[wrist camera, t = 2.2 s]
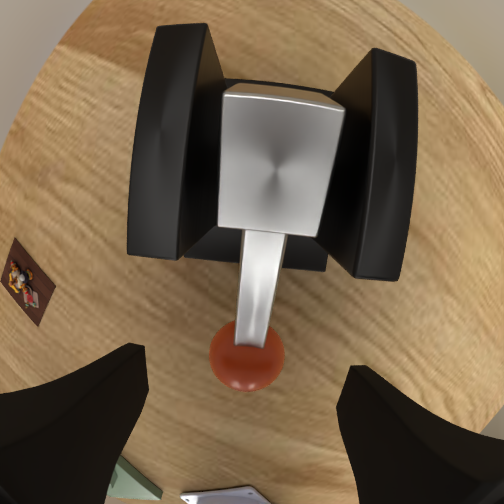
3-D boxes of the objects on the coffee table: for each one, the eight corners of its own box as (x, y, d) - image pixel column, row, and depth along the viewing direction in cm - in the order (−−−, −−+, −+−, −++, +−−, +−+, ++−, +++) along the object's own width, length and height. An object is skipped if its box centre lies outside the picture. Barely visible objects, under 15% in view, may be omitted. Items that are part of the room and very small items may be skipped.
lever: (278, 348, 13) (278, 405, 11) (214, 341, 13) (205, 398, 11) (336, 95, 6) (375, 116, 4) (221, 81, 6) (193, 92, 4)
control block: (163, 491, 20) (157, 512, 17) (111, 489, 21) (104, 507, 18) (100, 434, 18) (87, 456, 16) (54, 435, 19) (42, 452, 16)
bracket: (321, 267, 15) (406, 381, 5) (188, 253, 15) (92, 352, 5) (339, 99, 13) (441, 3, 3) (205, 83, 13) (139, -38, 3)
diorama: (17, 251, 15) (-3, 258, 13) (47, 287, 15) (28, 297, 13) (7, 279, 15) (-11, 288, 13) (36, 314, 16) (19, 325, 14)
